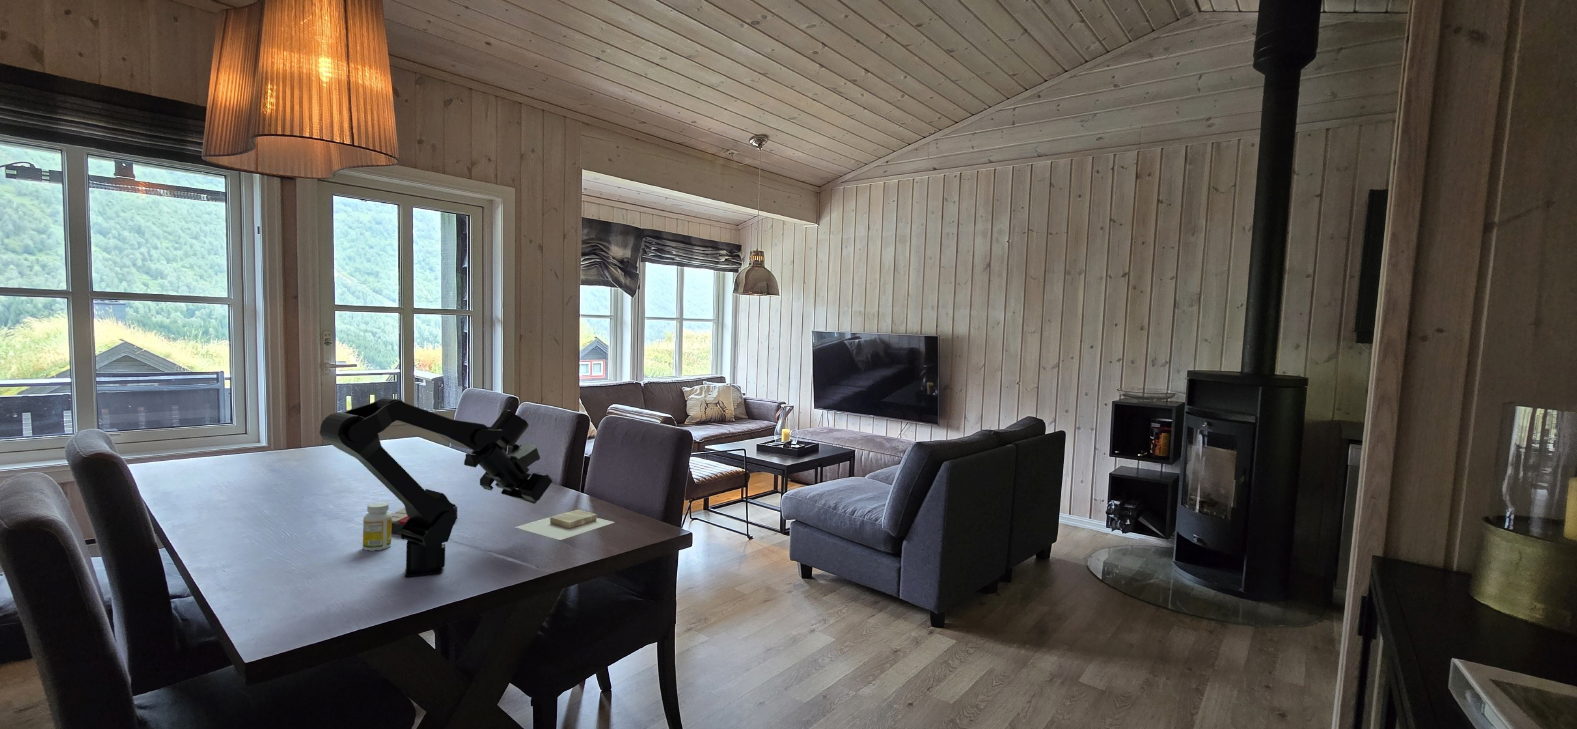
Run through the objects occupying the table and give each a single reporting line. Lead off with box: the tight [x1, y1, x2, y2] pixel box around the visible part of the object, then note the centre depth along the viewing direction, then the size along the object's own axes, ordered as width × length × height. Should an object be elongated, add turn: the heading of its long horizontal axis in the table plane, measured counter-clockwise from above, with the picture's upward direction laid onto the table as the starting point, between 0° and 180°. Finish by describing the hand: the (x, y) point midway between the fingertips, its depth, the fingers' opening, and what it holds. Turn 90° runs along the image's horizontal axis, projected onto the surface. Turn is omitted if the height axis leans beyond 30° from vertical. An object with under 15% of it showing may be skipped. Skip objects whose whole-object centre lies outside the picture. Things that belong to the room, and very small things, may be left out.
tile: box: [550, 509, 598, 529], centre depth 169 cm, size 2×7×9 cm
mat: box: [514, 511, 615, 541], centre depth 167 cm, size 18×16×1 cm
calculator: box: [391, 506, 458, 536], centre depth 162 cm, size 11×4×15 cm
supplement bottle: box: [362, 501, 392, 552], centre depth 146 cm, size 5×5×10 cm
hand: (535, 502), depth 158 cm, fingers closed
